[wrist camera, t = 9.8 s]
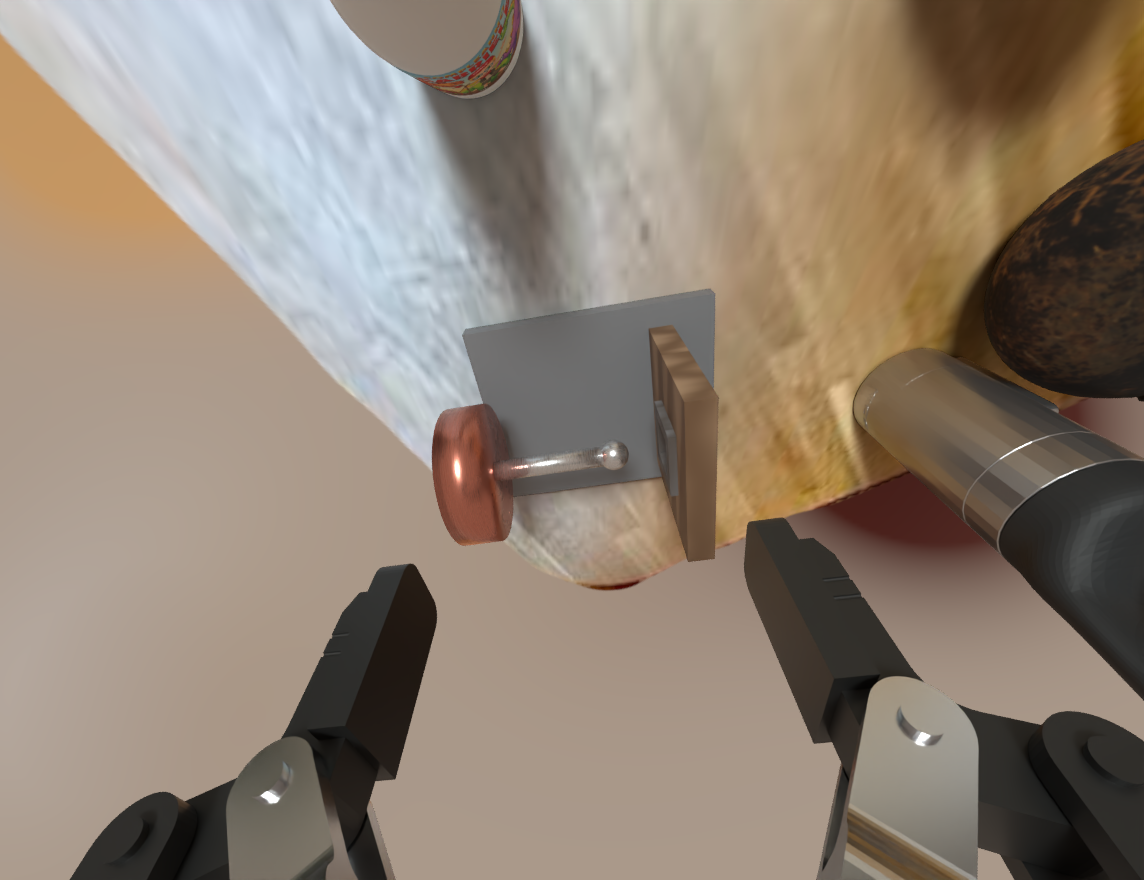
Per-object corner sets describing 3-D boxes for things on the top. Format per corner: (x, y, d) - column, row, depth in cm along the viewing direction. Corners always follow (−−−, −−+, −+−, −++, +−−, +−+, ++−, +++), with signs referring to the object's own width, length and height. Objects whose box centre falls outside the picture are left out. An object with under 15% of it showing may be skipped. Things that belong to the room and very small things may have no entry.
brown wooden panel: (672, 324, 37) (718, 397, 26) (677, 458, 44) (714, 558, 33) (641, 329, 37) (674, 403, 26) (651, 462, 45) (680, 562, 34)
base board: (710, 288, 37) (715, 293, 35) (708, 461, 46) (712, 469, 45) (465, 329, 38) (462, 335, 37) (513, 488, 48) (512, 497, 47)
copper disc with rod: (614, 360, 36) (632, 431, 27) (626, 466, 42) (644, 553, 33) (453, 385, 37) (417, 462, 28) (487, 485, 43) (467, 575, 34)
